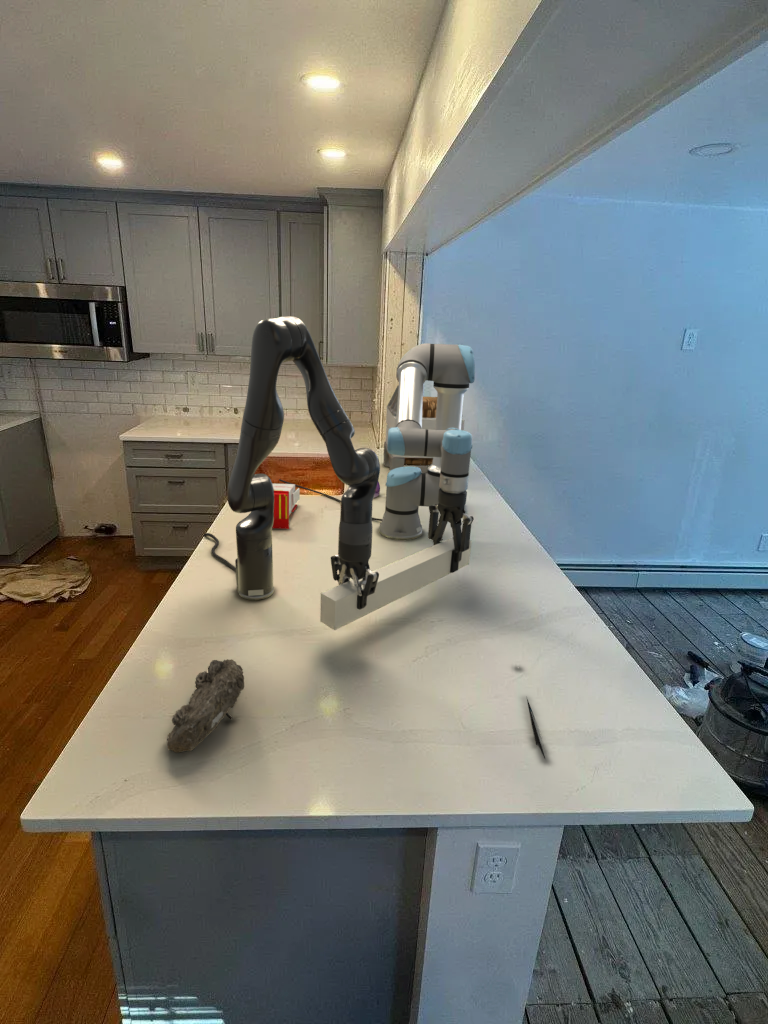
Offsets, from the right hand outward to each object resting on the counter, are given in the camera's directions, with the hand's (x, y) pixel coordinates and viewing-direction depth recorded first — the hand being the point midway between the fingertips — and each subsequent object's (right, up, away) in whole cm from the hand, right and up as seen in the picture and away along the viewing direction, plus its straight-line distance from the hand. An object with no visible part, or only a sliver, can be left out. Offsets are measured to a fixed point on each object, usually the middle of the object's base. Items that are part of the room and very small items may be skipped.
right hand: (445, 567), depth 159 cm
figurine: (-23, +22, +80) cm, 86 cm away
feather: (+12, -24, -45) cm, 53 cm away
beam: (-12, -5, -12) cm, 18 cm away
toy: (-56, +14, +53) cm, 78 cm away
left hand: (-25, -6, -26) cm, 36 cm away
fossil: (-50, -24, -51) cm, 75 cm away
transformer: (0, +34, +116) cm, 121 cm away
